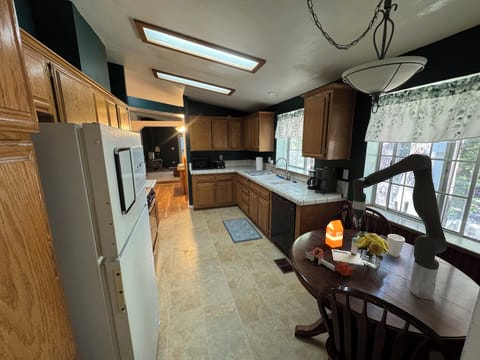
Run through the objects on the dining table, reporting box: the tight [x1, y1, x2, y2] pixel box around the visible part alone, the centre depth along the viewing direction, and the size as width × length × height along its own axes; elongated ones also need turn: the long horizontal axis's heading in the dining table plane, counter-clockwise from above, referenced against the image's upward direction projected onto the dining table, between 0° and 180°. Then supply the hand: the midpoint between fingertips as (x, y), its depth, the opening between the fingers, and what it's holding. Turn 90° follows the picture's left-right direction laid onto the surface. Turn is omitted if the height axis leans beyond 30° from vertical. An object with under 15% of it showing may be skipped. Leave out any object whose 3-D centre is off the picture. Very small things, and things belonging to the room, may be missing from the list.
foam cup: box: [387, 233, 406, 258], centre depth 139 cm, size 10×9×13 cm
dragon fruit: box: [333, 261, 357, 277], centre depth 120 cm, size 8×8×12 cm
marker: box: [350, 236, 359, 256], centre depth 138 cm, size 4×4×12 cm
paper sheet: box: [331, 248, 365, 267], centre depth 137 cm, size 14×18×1 cm
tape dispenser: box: [305, 246, 336, 272], centre depth 133 cm, size 18×5×20 cm
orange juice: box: [325, 219, 344, 249], centre depth 152 cm, size 8×9×20 cm
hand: (356, 229), depth 135 cm, fingers open, 8 cm apart
